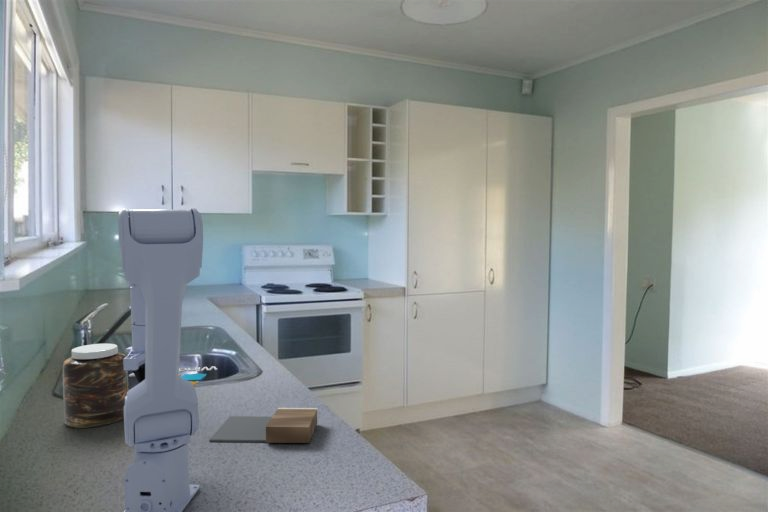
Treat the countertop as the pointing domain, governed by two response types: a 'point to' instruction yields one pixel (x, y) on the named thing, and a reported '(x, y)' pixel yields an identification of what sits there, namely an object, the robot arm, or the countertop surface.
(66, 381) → the jar
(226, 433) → the mat
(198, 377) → the logo
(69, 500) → the countertop surface
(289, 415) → the wooden block
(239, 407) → the countertop surface
